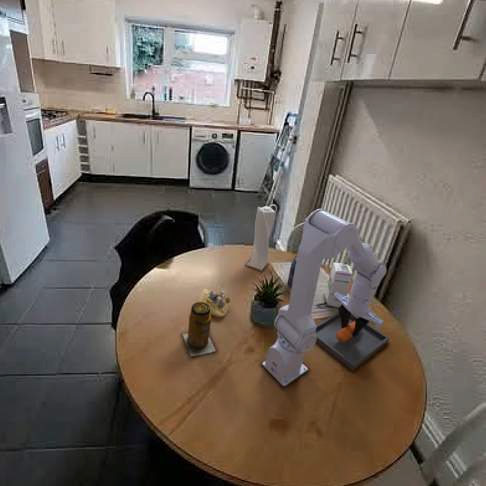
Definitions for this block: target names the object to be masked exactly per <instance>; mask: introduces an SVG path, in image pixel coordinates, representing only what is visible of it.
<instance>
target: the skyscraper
mask: <svg viewBox="0 0 486 486" xmlns="http://www.w3.org/2000/svg"><path fill="white" fill-rule="evenodd" d="M272 206H274V207H275V210H274V209H273V208H272ZM277 211H278V207H277V205H276V204H274V203H272V204H270V205H269V206H267V205H265V206H263V207H260V206H257V209H256V214H255V220H254V221H255V222H254V241H253V245H252V250H251V255H250V260H249V261H248V262H247V263H246V264H245V266H246V267H249V268H252V269H254V270H257V271H260V272H262V271H263V270H264V269H265V268H266V267H267V266H268V264H269V262H268V257H269V250H270V249H269V248H270V247H269V244H270V242H269V241H270V240H269V238H270V236H271V234H272V232H273V228H274V225H275V220H276V214H277Z"/></svg>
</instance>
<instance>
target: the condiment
mask: <svg viewBox="0 0 486 486" xmlns="http://www.w3.org/2000/svg"><path fill="white" fill-rule="evenodd" d="M211 319H212V314H210V306H209V305H208V304H207V303H205V302H198V301H197V302H194V303H193V304H192V305H191V308H190V313H189V317H188V332H187V333H182V337H183V340H184V343H185V345H186V347H187V351H188V353H189V356H190V357H197V356H202V355H207V354H210V353H214V352H216V348H215V347H214V344H213V342H212V340H211V338H210V332H211V323H212V320H211Z"/></svg>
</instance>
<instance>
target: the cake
mask: <svg viewBox="0 0 486 486" xmlns="http://www.w3.org/2000/svg"><path fill="white" fill-rule="evenodd" d="M216 275H217V276H218V274H216ZM224 283H225V280H223V281H222V285H221V288H220V291H219V292H215V291H213V290H210V289H208V288H202V291H201V293H200V295H199V297H198V300H197V302H205V303H207V304H208V305H209V306H210V315H211V316H215V317H220V318H222V317H225V316H226V315H227V313H228V311H229V309H230V308H231V305H232V301H231V297H228V295H224V294H225V292H226V289H224V287H223V286H224Z"/></svg>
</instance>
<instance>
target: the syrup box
mask: <svg viewBox="0 0 486 486" xmlns="http://www.w3.org/2000/svg"><path fill="white" fill-rule="evenodd" d="M352 278H353V270H352V268H351V265H350V264H347V263H341V262H333V263H332V267H331V269H330V274H329V279H328V282H327V286H326V290H325V294H324V298H325V301H326V305H327V306H330V307H333V308H339V307H340V306H341V303H340V302H338V301H334V300H333V296H334V294H335V293H337V292H338V293H339V294H341V295H344V296H346V297H348V293H349V289H350V285H351V281H352Z"/></svg>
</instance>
